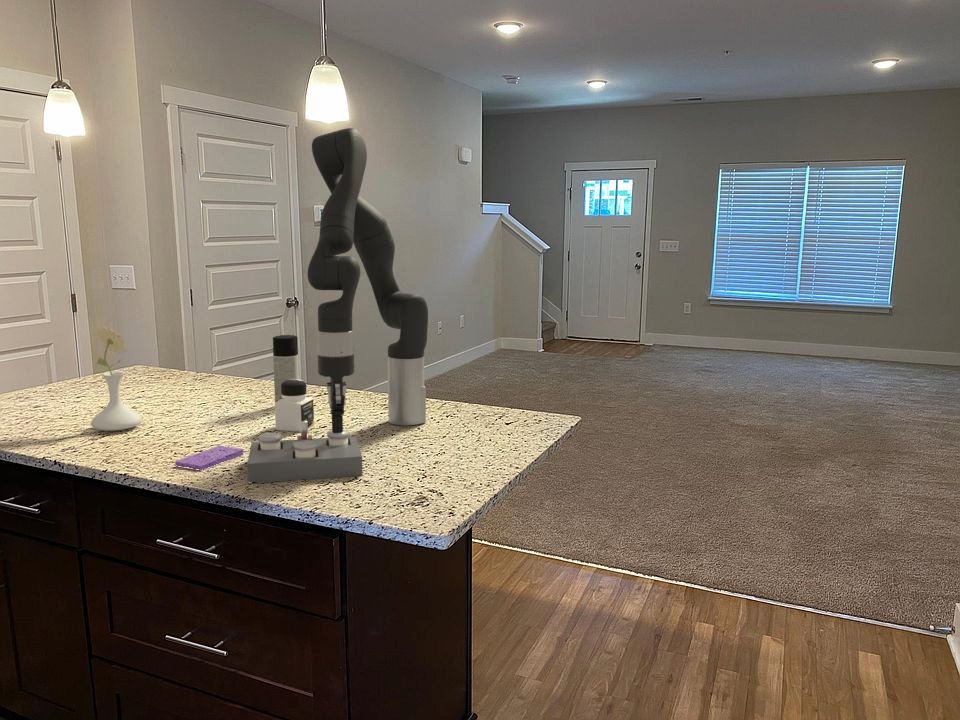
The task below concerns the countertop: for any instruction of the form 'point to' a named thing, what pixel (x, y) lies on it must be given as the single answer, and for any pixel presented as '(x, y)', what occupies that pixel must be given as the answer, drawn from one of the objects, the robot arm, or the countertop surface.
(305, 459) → the mount
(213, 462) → the sponges
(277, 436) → the knob
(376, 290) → the robot arm
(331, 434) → the knob
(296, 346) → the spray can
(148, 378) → the countertop surface
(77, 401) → the countertop surface
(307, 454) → the knob side
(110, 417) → the flower in vase
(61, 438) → the countertop surface
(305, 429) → the brown boxy piece
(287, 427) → the medicine bottle
